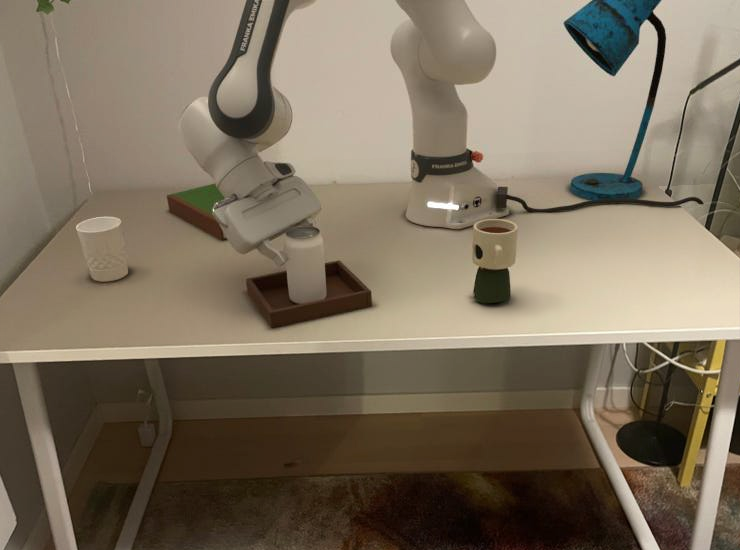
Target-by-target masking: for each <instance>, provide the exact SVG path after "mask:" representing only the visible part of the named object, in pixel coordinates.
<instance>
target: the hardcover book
mask: <svg viewBox="0 0 740 550" xmlns="http://www.w3.org/2000/svg"><path fill="white" fill-rule="evenodd" d="M224 199H225V197H224V196H223V195H222V194H221V192H220V191H219V190H218V188H217V187H216V184H215V183H211V184H207V185H202V186H199V187H194V188H190V189H187V190H183V191H178V192H174V193H171V194H167V195H166V200H167V205H168V211H169V212H170V213H172V214H174V216H177V217H179V218H180V219H182V220H184V221H186V222H188V223H190V224H191V225H193V226H195V227H197V228H198V229H200V230H202V231H204V232H205V233H207V234H209V235H211V236H213V237H214V238H217V240H220V241H226V240H228V239H227V238H226V236H225V234H224V233H223V231H222V229H221V227H220V225H219V223H218V221H217V220H216V219H215V218H214V216H213V214H212V213H213V212H212V210H213V207H214V204H215V203H216V202H218V201H222V200H224ZM215 210H216V209H215Z"/></svg>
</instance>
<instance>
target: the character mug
mask: <svg viewBox="0 0 740 550" xmlns="http://www.w3.org/2000/svg"><path fill="white" fill-rule="evenodd" d="M472 231H473V232H472V247H471V248H472V249H471V253H472V254H471V257H472V258H471V259H472V263H473V264H474V265H475V266H477V267H478V268H477V269H476V275H475V279H474V285H473V290H472V295H473V299H474V300H476V301H478V302H480V303H483V304H495V303H501V302H505V301H508V300H510V299H511V297H512V296H511V295H512V291H511V277H510V270H509V268H511V267H512V266H514V265H515V264H516V258H517V245H518V244H517V243H518V231H519V226H518V224H517V223H515V222H514V221H511V220H508V219H503V218H496V219H486V220H482V221H478V222H477V223H475V224H474V225H473V230H472Z"/></svg>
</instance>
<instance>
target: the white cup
mask: <svg viewBox="0 0 740 550" xmlns="http://www.w3.org/2000/svg"><path fill="white" fill-rule="evenodd" d="M122 223H123V222H122V220H121V219H120V218H118V217H115V216H98V217H92V218H88V219H85V220H82V221H81V222H79V223H78V224H76V226H75V229H76V233H77V236H78V240H79V244H80V246H81V250H82V253H83V255H84V259H85V263H86V264H87V266H88V271H89V274H90V277H91V279H92V280H94V281H95V282H100V283H101V282H103V283H105V282H113V281H114V282H115V281H117V280H120V279H122V278H125V277H126V276H127V275H129V267H128V266H129V265H128V260H127V259H128V255H127V249H126V242H125V236H124V230H123V224H122Z"/></svg>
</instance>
